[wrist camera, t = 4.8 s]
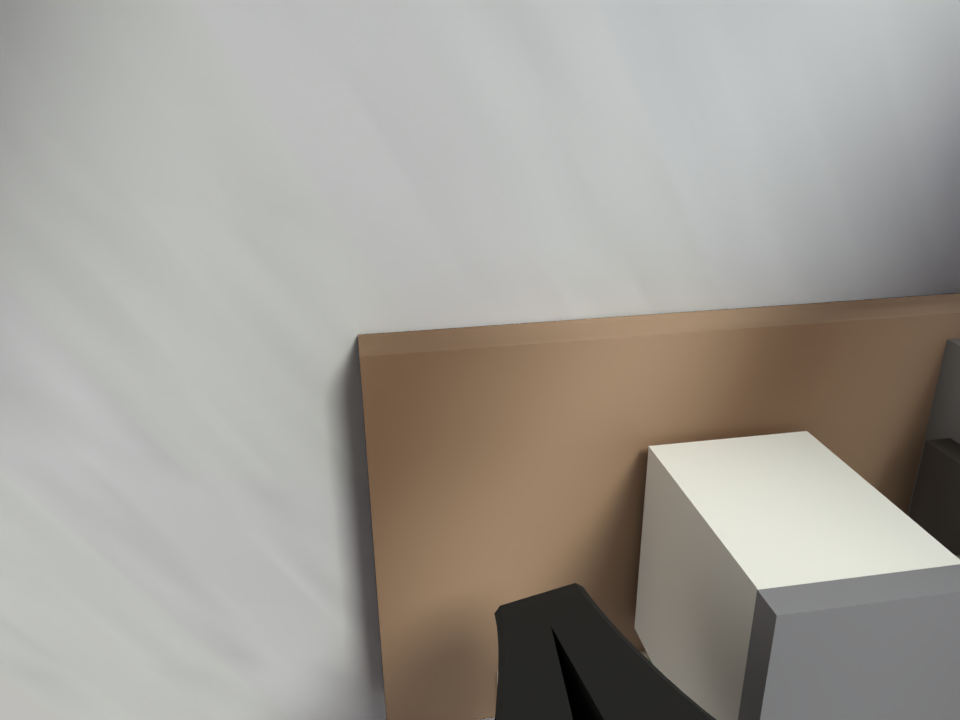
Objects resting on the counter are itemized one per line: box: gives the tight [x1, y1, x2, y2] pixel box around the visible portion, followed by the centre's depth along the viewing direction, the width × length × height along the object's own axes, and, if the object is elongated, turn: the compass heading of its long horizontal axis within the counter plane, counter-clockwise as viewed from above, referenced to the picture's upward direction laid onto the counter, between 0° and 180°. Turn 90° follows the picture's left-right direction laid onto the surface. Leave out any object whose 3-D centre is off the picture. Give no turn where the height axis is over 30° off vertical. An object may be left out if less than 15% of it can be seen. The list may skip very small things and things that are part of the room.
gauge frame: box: [358, 293, 960, 720], centre depth 13 cm, size 14×8×6 cm, turn 91°
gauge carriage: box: [634, 431, 960, 720], centre depth 13 cm, size 3×6×4 cm, turn 0°
